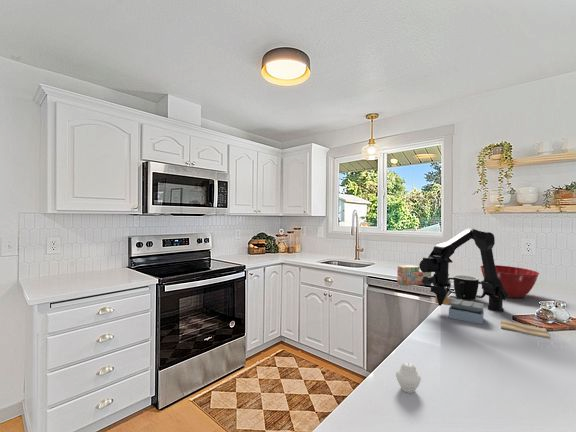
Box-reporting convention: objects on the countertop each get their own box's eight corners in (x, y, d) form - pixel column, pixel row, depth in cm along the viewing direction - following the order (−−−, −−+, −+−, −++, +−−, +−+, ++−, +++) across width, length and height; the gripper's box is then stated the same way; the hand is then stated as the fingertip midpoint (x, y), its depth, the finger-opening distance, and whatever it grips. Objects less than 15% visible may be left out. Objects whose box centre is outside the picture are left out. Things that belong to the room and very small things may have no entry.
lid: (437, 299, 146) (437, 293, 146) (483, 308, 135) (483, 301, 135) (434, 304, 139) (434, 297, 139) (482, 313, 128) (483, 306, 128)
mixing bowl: (552, 302, 165) (553, 274, 165) (499, 300, 165) (500, 273, 165) (514, 289, 193) (515, 265, 193) (469, 288, 194) (470, 264, 193)
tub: (451, 312, 143) (451, 304, 143) (483, 318, 135) (483, 309, 135) (448, 317, 136) (448, 308, 135) (482, 324, 128) (483, 315, 128)
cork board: (500, 321, 133) (501, 319, 133) (545, 329, 124) (545, 328, 124) (501, 328, 124) (501, 327, 124) (549, 338, 115) (549, 336, 115)
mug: (473, 295, 176) (473, 275, 175) (488, 303, 160) (489, 281, 159) (444, 293, 177) (444, 273, 177) (456, 301, 161) (457, 279, 161)
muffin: (414, 383, 82) (414, 357, 82) (425, 396, 76) (425, 369, 76) (391, 382, 82) (392, 357, 81) (400, 396, 75) (401, 369, 75)
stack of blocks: (425, 282, 206) (425, 265, 206) (431, 285, 200) (431, 266, 200) (396, 283, 202) (397, 265, 202) (402, 285, 196) (402, 267, 196)
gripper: (426, 267, 154) (425, 297, 154) (419, 272, 138) (418, 305, 138) (451, 269, 147) (450, 301, 147) (446, 275, 132) (445, 310, 132)
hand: (440, 304), depth 141 cm, fingers closed on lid, 3 cm apart
